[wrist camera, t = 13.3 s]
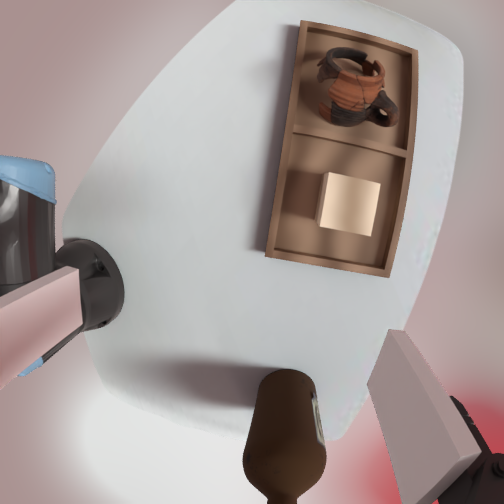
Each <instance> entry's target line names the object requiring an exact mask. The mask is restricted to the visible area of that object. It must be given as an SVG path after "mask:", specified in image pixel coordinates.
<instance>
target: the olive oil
mask: <svg viewBox="0 0 504 504" xmlns="http://www.w3.org/2000/svg"><path fill="white" fill-rule="evenodd" d="M325 465H326V448H325V443H324V437H323V431H322V425H321V420H320V414H319V408H318V401H317V395H316V389H315V385H314V382H313V381H312V379H311V378H310V377H309V376H307V375H306V374H304V373H302V372H300V371H296V370H279V371H276V372H273V373H271V374H269V375H268V376H266V377H265V378H264V379H263V380H262V382H261V384H260V386H259V390H258V395H257V400H256V405H255V409H254V414H253V418H252V422H251V426H250V430H249V434H248V438H247V442H246V446H245V449H244V453H243V468H244V472H245V475H246V477H247V479H248V480H249V482H250V483H251V484H252V485H253V486H254V487H255V488H257V489H258V490H259V491H260V492H261V493H262V494H264V495H265V496H266V497H267V499H268V501H267V504H297V498H298V497H299V496H301V495H302V494H303V493H305V492H306V491H307V490H308V489H310V488H311V487H312V486H313V485H315V484H316V483H317V482H318V480H319V479H320V478H321V476H322V474H323V472H324V469H325Z"/></svg>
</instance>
